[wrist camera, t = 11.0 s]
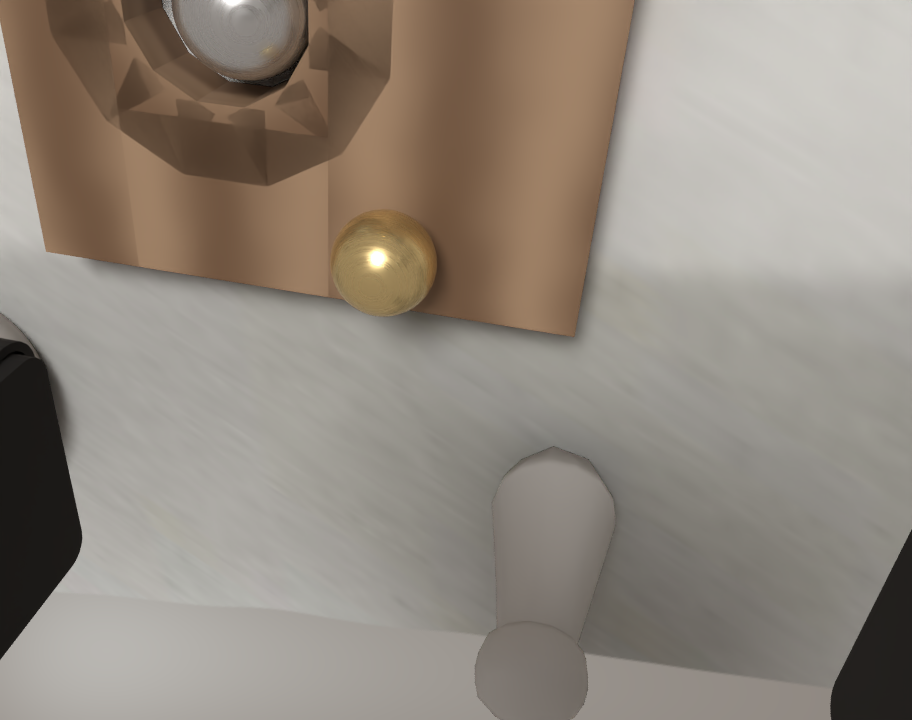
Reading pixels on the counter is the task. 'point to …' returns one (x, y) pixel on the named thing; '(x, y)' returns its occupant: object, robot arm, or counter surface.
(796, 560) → the counter surface
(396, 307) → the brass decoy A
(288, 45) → the steel ball
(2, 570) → the robot arm
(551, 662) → the salt shaker
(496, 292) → the board
